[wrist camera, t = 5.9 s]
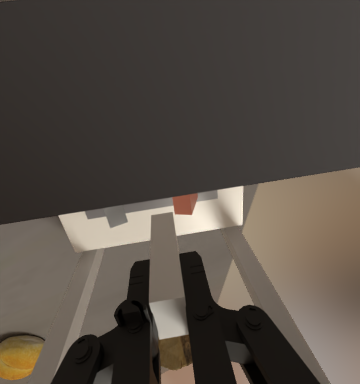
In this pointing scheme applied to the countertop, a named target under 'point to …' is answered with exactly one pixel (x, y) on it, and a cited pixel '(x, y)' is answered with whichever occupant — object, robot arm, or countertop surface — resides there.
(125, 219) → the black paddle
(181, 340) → the rock
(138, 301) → the robot arm
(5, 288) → the countertop surface
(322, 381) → the white grey open frame
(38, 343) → the bread roll
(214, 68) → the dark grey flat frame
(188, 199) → the terracotta block
